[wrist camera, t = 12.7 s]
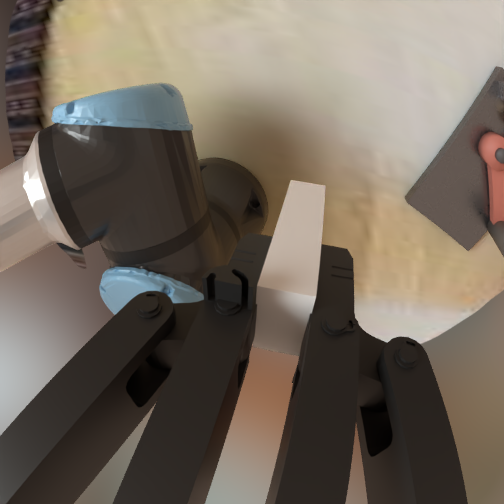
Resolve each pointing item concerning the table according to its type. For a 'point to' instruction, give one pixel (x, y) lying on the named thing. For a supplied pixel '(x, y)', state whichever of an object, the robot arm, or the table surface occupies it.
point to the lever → (495, 183)
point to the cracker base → (463, 171)
